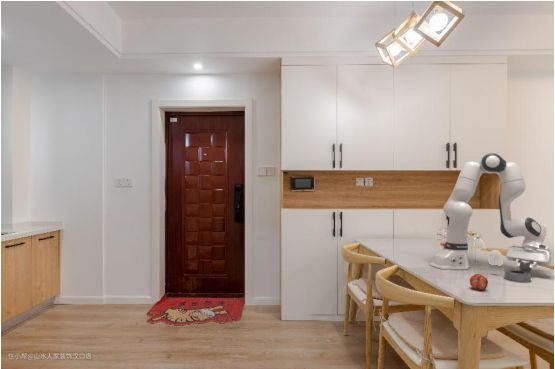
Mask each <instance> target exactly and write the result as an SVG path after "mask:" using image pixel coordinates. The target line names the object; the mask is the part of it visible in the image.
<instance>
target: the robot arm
mask: <svg viewBox="0 0 555 369" xmlns="http://www.w3.org/2000/svg"><path fill="white" fill-rule="evenodd" d="M458 174H459V175H458V178H457V180H456V183H455V185H454V188H453V190H452V192H451V193H450V196H449V197H448V199H447V201H446V203H445V204H443V209H442V210H443V213H444V214H445V215H446V217H448V218H449V222H448V226H447V228H446V241H445V242H442V241H441V242H440V243H439V244H440V246H442V247H443V248H442V249H441V250H439V251H438V252H436V253H435V254H434V256H433V259H432V261H431V262H429V263H428V264H429V266H431V267H433V268H436V269H440V270H463V271H464V270H465V271H466V270H469V269H470V268H471V267H470V262H469V258H468V257H469V256H468V250H469V243H468V229H469V225H470V220H471V217H472V216H473V209H472V208H473V207H471V205H470V204H468V203H469V201H470V200H471V199H472V198H473V197H474V195H475V192H476V189H477V187H478V184H479V181H480V178H481V176H482V175H493V174H496V175H497V176H498V178H499V179H500V184H501V192H500V194H499V196H498V207H499V217H500V218H499V219H500V227H499V228H500V232H501V234H502V235H503V236H505V237H506V238H508V239H512V238H518V237H524V239H523V241H522V243H521V246H517V245H512V246H509V248H508V249H507V252H506V254H505V257H506V259H507V260H508V261H512V262H515V263H516V268H517V269H520V261H529V262H530V267H529V269H530V271H534V269H535V268H536V267H538V266H545V267H549V266H551V264H552V252H551V248H550V247H549V246H547V245H546V244H543V243H544V241H545V239H546V238H545V237H546V229H547V228H546V226H545V225H544V224H542V223H541V222H538V221H536V220H535V219H533V218H532V217H524V218H523V217H522V218H517V219H513V218H512V213H511V212H512V211H511V204H512V202H513V201H515V200H516V199H518V198H519V197H521V196H522V195H523V194H524V192H525V191H526V182H525V178H524V176H523V173H522V172H521V168H520V167H519V165H518V164H517V163H515V162H512V161H511V162H507V161H506V160H505V159H504V158H503V157H502V156H500V155H499V154H497V153H493V152H490V153H486V154H485V155H484V156H483V157H482V158H481V159H480V160H479V161H467V162H465V163H464V165H463V166H462V167H461V170H460V172H459V173H458Z"/></svg>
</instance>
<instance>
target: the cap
mask: <svg viewBox="0 0 555 369" xmlns="http://www.w3.org/2000/svg"><path fill="white" fill-rule="evenodd" d="M519 264H520V268H519V270H522V271H526V272H529V273H531V270H530V269H529V267H530V266H531V264H530V262H529V261H520V263H519Z"/></svg>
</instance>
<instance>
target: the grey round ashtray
mask: <svg viewBox="0 0 555 369" xmlns="http://www.w3.org/2000/svg"><path fill="white" fill-rule="evenodd" d="M503 271H504V273H503V274H504V275H503V278H504V279H505V280H506V281H510V282H514V283H523V284H524V283H530V282H532V280H531V278H532V277H531V275H532V274H531V272H530V273H529V272H526V271H522V270H520V269H513V268H512V269H511V268H510V269H508V268H507V269H505V270H503Z"/></svg>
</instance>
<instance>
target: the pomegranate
mask: <svg viewBox="0 0 555 369" xmlns="http://www.w3.org/2000/svg"><path fill="white" fill-rule="evenodd" d="M469 284H470V286H471V288H473V289H474V290H479V291H484V290H486V289H487V287H488V284H489V282H488V278H487V277H485V276H484V275H482V274H481V273H475V274H474V275H471V276H470V278H469Z"/></svg>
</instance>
